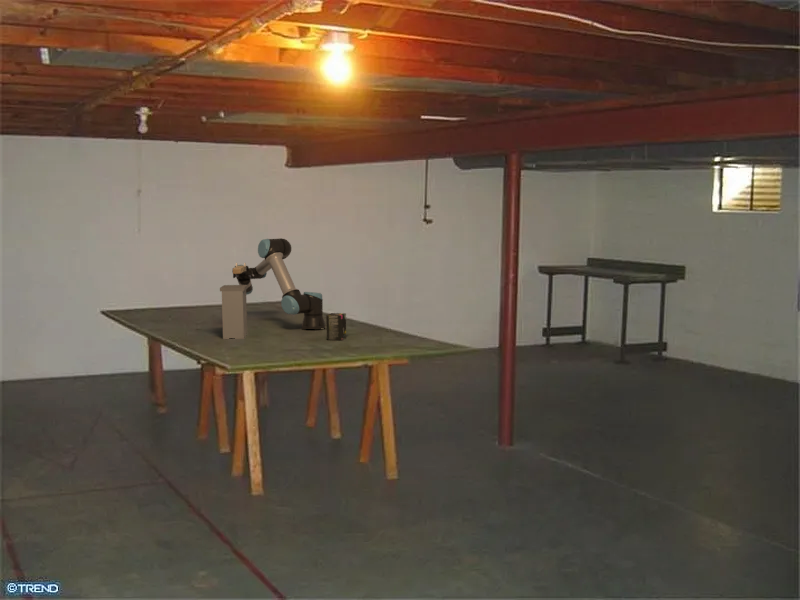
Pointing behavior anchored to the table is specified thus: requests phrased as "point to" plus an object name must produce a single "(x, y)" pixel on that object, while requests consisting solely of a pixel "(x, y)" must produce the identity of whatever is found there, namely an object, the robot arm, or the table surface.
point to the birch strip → (238, 270)
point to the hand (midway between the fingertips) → (240, 264)
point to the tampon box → (336, 326)
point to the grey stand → (234, 311)
